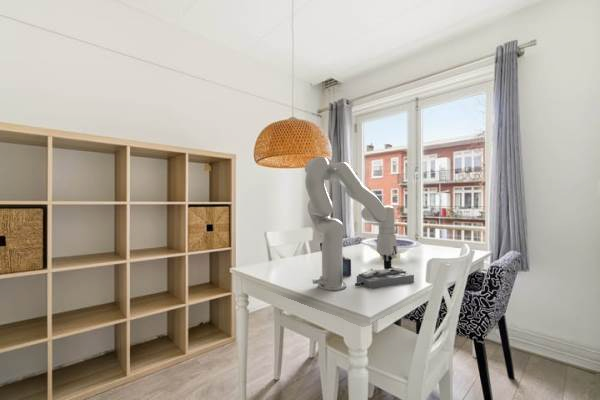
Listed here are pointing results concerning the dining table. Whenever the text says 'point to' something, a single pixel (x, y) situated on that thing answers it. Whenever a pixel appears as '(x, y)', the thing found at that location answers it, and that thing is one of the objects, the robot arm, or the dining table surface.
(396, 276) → the power strip
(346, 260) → the flask
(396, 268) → the rocker
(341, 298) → the dining table surface
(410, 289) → the dining table surface
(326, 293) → the dining table surface
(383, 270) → the rocker
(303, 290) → the dining table surface
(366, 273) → the rocker
